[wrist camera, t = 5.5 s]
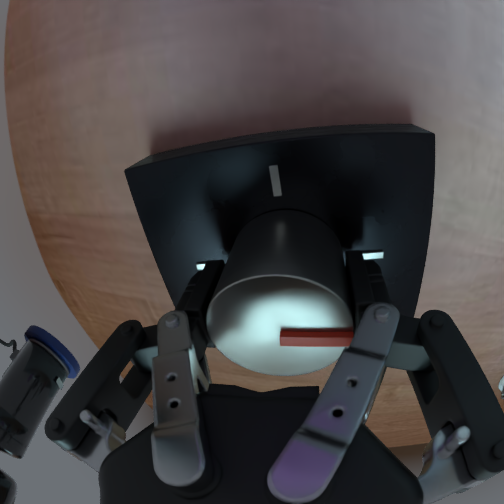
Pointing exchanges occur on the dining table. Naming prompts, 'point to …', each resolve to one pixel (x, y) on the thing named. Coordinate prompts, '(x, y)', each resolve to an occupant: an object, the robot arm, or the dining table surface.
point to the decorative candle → (502, 387)
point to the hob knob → (283, 297)
